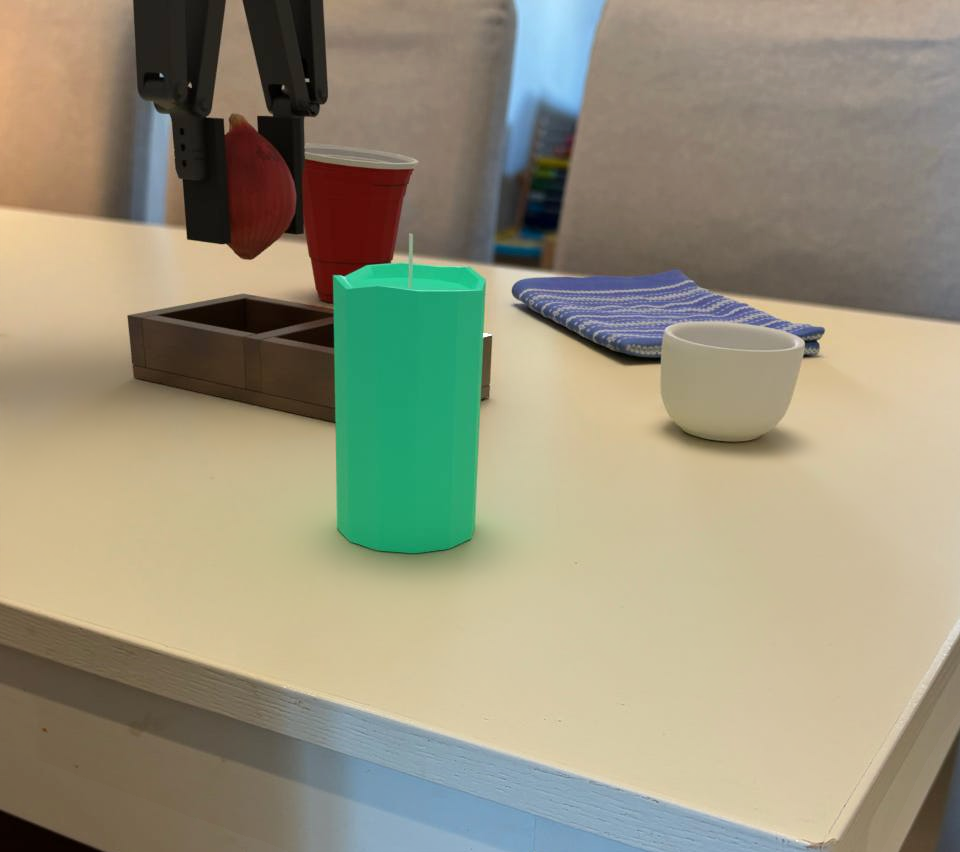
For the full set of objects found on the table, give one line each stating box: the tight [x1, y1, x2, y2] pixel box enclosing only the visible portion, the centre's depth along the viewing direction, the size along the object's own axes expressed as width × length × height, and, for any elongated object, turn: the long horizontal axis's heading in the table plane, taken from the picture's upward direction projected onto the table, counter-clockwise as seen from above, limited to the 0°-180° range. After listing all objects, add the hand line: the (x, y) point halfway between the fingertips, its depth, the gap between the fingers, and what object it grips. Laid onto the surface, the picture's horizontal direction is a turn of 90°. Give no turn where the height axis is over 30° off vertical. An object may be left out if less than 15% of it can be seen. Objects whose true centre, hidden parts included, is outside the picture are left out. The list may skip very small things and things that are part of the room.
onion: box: [225, 112, 297, 261], centre depth 65 cm, size 6×6×8 cm
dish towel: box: [511, 269, 826, 359], centre depth 89 cm, size 17×24×3 cm
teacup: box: [659, 322, 805, 442], centre depth 63 cm, size 10×8×5 cm
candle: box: [333, 233, 487, 554], centre depth 45 cm, size 6×6×12 cm
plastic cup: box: [302, 142, 420, 304], centre depth 93 cm, size 11×11×12 cm
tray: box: [126, 293, 493, 423], centre depth 67 cm, size 20×10×4 cm, turn 59°
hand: (247, 235), depth 66 cm, fingers closed on onion, 6 cm apart
